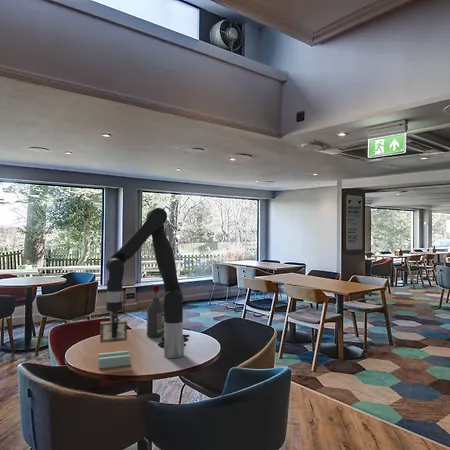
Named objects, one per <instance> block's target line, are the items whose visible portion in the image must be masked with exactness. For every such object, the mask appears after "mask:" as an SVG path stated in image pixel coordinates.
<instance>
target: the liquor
mask: <svg viewBox="0 0 450 450" xmlns="http://www.w3.org/2000/svg"><path fill="white" fill-rule="evenodd" d="M159 294H160V285H159V284H154V285H152V302H151V303H150V304H149V305H148V307H146V336H147V337H148V338H154V339H155V338H156V339H157V338H162V337H164V304H163V303H162V302H160V295H159Z"/></svg>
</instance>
